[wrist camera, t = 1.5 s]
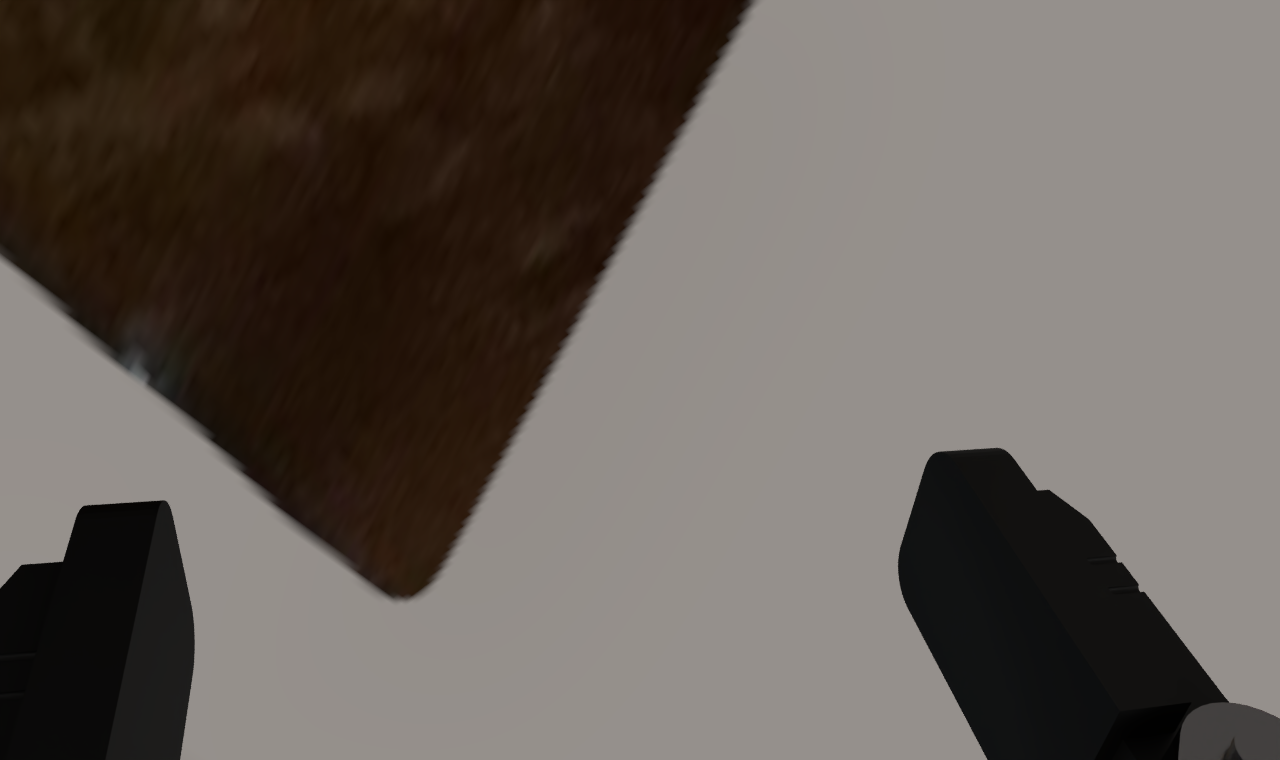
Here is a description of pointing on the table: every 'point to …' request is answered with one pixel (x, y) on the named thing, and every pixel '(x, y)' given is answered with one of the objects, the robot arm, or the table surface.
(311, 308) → the table surface
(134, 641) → the robot arm
